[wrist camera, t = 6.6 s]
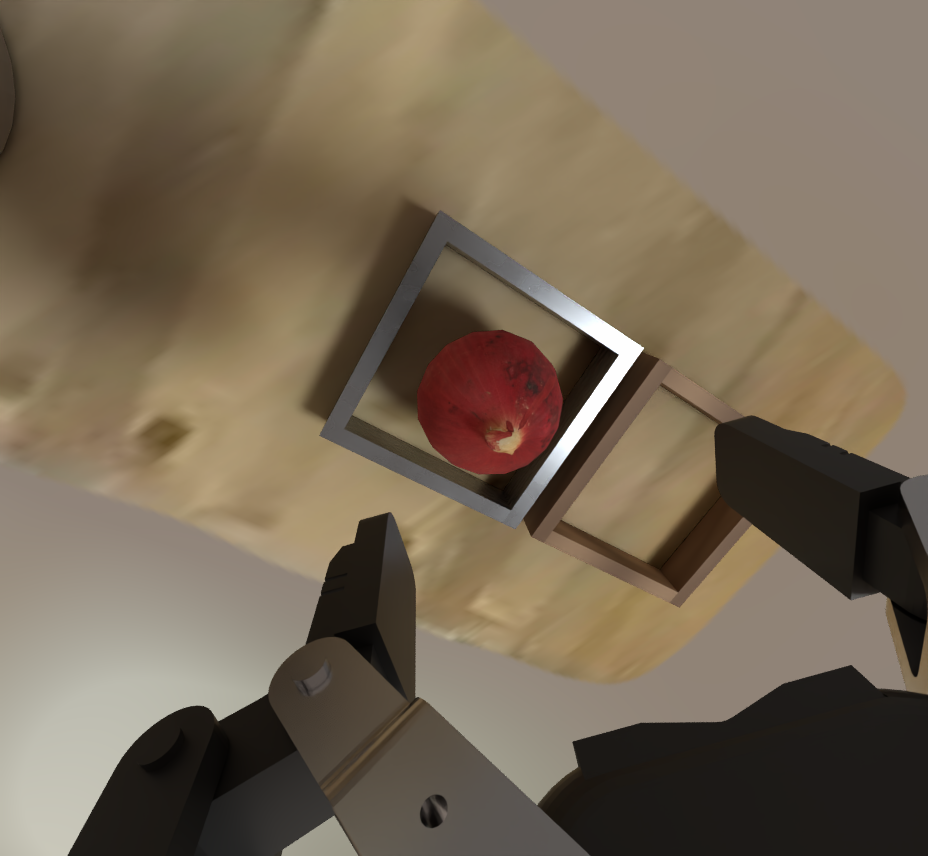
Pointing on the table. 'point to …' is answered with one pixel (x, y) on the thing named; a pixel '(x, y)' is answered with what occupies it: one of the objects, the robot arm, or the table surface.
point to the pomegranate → (490, 402)
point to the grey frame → (575, 409)
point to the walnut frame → (587, 457)
